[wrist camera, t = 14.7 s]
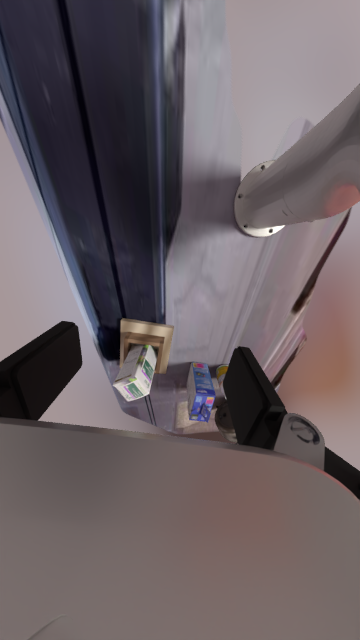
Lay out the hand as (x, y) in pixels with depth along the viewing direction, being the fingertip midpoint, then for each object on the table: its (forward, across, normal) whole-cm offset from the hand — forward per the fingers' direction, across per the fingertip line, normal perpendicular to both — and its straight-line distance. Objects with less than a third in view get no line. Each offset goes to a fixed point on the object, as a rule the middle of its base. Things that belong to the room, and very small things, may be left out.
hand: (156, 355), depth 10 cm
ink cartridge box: (+33, -11, +31) cm, 47 cm away
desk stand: (+33, +6, +23) cm, 40 cm away
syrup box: (+31, +6, +23) cm, 39 cm away
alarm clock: (+33, -24, +41) cm, 58 cm away
